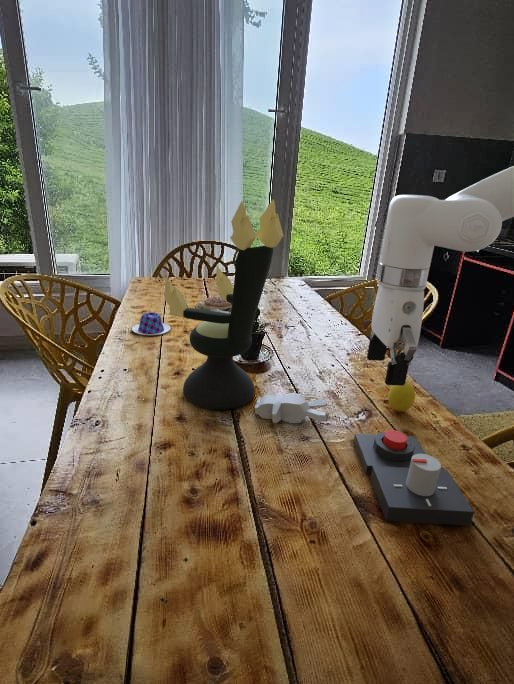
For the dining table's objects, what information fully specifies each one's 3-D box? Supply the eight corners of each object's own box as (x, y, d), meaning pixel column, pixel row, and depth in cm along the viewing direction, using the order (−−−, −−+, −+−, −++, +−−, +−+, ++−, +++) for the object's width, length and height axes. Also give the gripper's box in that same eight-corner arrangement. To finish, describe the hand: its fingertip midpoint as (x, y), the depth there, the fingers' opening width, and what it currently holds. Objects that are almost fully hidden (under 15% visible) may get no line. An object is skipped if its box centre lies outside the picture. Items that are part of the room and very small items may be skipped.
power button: (401, 438, 84) (403, 430, 84) (408, 451, 81) (410, 443, 80) (380, 437, 84) (381, 429, 84) (386, 449, 81) (388, 441, 80)
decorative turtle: (186, 304, 167) (186, 291, 166) (226, 300, 174) (227, 288, 172) (204, 320, 152) (204, 306, 150) (247, 315, 159) (248, 301, 157)
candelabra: (214, 369, 117) (219, 189, 100) (288, 396, 105) (308, 197, 88) (164, 396, 102) (160, 192, 85) (243, 431, 91) (257, 202, 74)
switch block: (413, 445, 88) (417, 428, 87) (432, 479, 79) (437, 460, 78) (353, 442, 89) (356, 425, 87) (365, 475, 79) (368, 457, 78)
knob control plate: (443, 483, 78) (447, 468, 77) (469, 526, 69) (474, 511, 68) (369, 479, 78) (372, 464, 77) (385, 522, 69) (389, 506, 68)
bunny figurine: (259, 386, 100) (327, 389, 97) (260, 406, 102) (327, 409, 99) (251, 407, 92) (325, 410, 88) (253, 428, 94) (325, 432, 90)
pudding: (177, 333, 140) (176, 317, 138) (141, 340, 133) (140, 323, 132) (160, 321, 149) (160, 306, 147) (126, 327, 143) (125, 312, 141)
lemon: (387, 416, 98) (393, 384, 95) (383, 404, 103) (389, 373, 100) (413, 419, 98) (420, 387, 94) (408, 407, 103) (415, 376, 100)
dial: (428, 478, 74) (435, 452, 73) (438, 497, 70) (446, 470, 68) (402, 477, 75) (408, 451, 73) (411, 495, 70) (417, 468, 68)
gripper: (450, 291, 63) (426, 396, 70) (404, 264, 79) (388, 352, 86) (399, 289, 63) (379, 395, 70) (363, 263, 79) (350, 351, 86)
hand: (384, 371), depth 78 cm, fingers open, 9 cm apart
